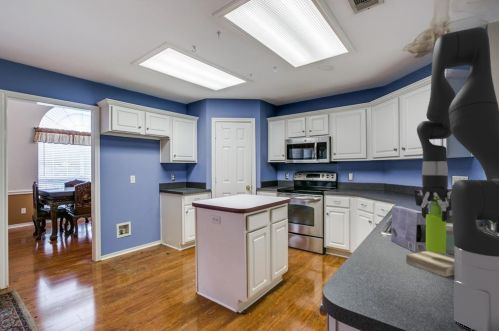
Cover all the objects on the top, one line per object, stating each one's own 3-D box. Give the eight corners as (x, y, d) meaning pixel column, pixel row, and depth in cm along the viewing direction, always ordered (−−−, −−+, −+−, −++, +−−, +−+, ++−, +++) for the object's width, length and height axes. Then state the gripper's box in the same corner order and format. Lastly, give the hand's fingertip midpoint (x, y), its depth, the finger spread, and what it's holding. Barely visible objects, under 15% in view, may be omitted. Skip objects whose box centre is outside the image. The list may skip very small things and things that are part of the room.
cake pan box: (429, 254, 101) (428, 212, 101) (417, 254, 101) (416, 212, 101) (400, 241, 120) (400, 205, 120) (390, 240, 120) (390, 205, 120)
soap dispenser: (428, 252, 86) (428, 197, 86) (424, 247, 92) (424, 195, 92) (448, 255, 83) (448, 198, 84) (443, 249, 90) (443, 196, 90)
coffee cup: (461, 251, 105) (461, 224, 105) (467, 257, 97) (466, 228, 98) (437, 248, 109) (436, 221, 109) (440, 253, 102) (440, 225, 102)
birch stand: (444, 276, 79) (444, 267, 80) (406, 262, 92) (406, 254, 92) (467, 270, 84) (467, 262, 84) (428, 258, 96) (427, 250, 96)
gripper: (408, 173, 94) (408, 216, 93) (451, 174, 80) (451, 224, 80) (421, 173, 97) (421, 215, 96) (464, 174, 83) (464, 222, 83)
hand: (435, 219), depth 88 cm, fingers closed on soap dispenser, 6 cm apart
